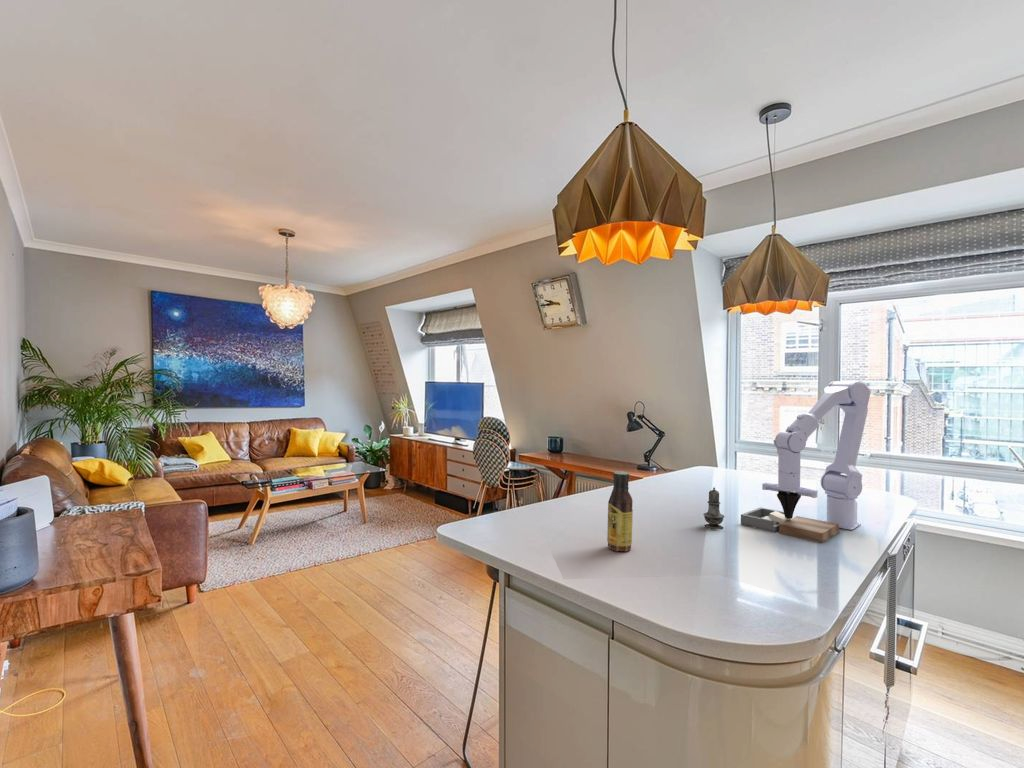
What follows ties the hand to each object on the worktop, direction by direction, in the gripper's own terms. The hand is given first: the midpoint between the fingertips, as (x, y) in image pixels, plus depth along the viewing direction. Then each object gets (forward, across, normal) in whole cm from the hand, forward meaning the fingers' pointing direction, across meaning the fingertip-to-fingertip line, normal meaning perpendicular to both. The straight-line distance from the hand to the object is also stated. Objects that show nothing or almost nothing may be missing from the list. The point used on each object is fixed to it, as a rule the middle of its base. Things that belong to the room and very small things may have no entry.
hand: (788, 517), depth 146 cm
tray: (+3, -6, 0) cm, 7 cm away
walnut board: (+3, +5, 0) cm, 6 cm away
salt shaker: (+3, -15, -16) cm, 22 cm away
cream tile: (+1, -3, 0) cm, 3 cm away
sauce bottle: (+3, -21, -54) cm, 58 cm away
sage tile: (+3, -5, 0) cm, 6 cm away
